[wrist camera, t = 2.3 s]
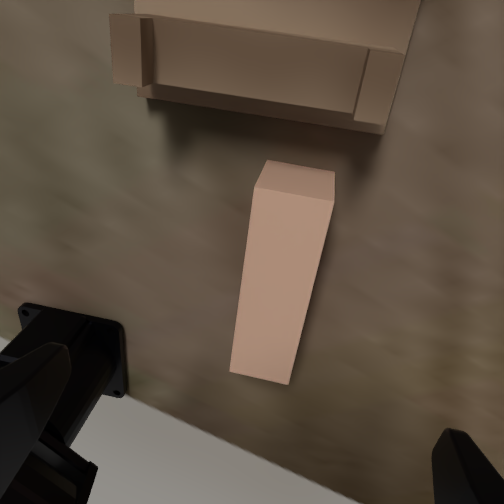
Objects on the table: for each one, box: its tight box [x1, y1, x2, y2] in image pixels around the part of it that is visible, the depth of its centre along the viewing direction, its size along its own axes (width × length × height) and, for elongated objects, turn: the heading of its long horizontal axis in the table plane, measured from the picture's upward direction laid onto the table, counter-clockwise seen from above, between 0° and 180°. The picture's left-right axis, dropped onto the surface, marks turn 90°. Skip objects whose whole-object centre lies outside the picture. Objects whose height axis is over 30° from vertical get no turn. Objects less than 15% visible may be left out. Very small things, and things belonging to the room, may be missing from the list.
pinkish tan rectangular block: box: [229, 160, 335, 385], centre depth 19 cm, size 10×3×4 cm, turn 173°
